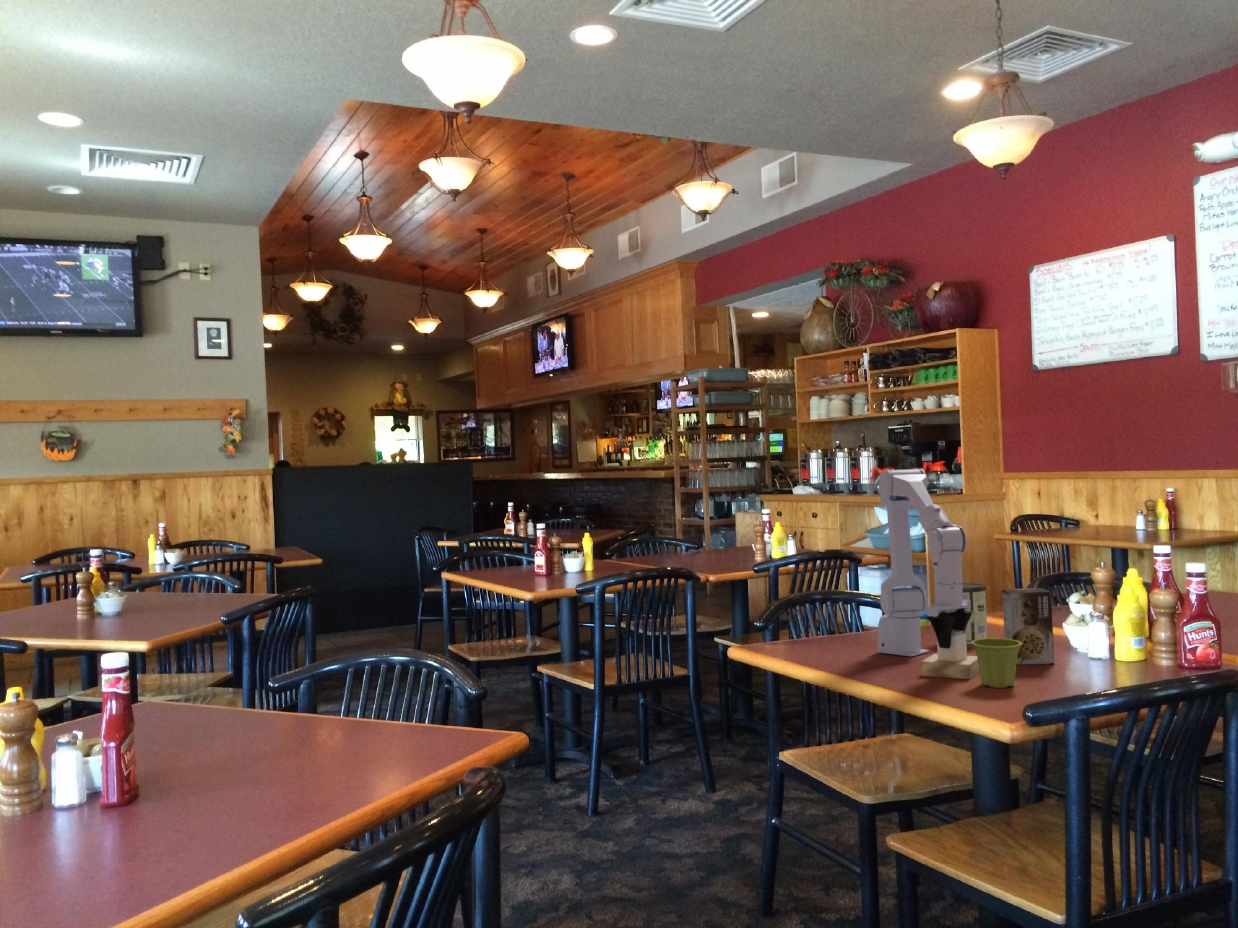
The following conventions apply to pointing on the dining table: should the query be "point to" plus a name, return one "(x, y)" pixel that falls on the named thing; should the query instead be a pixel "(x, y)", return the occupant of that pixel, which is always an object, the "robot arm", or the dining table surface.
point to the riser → (950, 667)
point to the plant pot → (997, 661)
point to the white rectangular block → (954, 648)
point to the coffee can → (976, 611)
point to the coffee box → (1029, 624)
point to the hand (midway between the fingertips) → (950, 646)
